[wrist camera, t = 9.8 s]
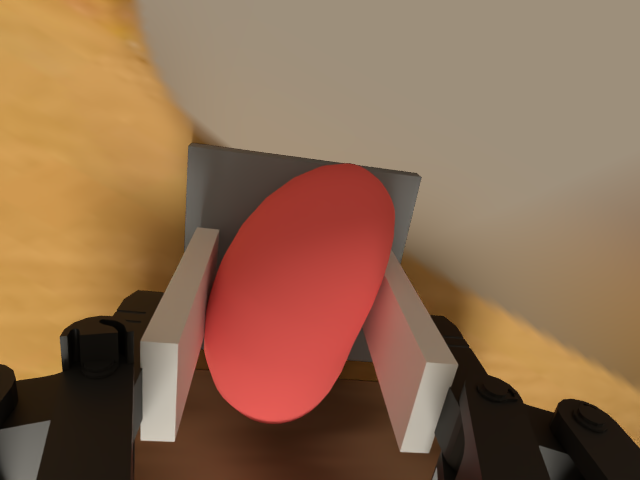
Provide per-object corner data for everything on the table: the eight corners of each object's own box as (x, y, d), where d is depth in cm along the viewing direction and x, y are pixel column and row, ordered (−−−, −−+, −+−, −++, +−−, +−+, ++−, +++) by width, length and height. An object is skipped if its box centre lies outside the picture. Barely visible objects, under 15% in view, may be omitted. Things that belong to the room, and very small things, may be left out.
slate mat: (416, 173, 16) (421, 177, 15) (373, 353, 19) (376, 362, 18) (191, 142, 15) (188, 145, 14) (183, 338, 18) (180, 348, 17)
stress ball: (167, 284, 17) (164, 451, 14) (266, 108, 12) (307, 304, 8) (280, 300, 20) (304, 442, 16) (403, 162, 15) (481, 328, 11)
